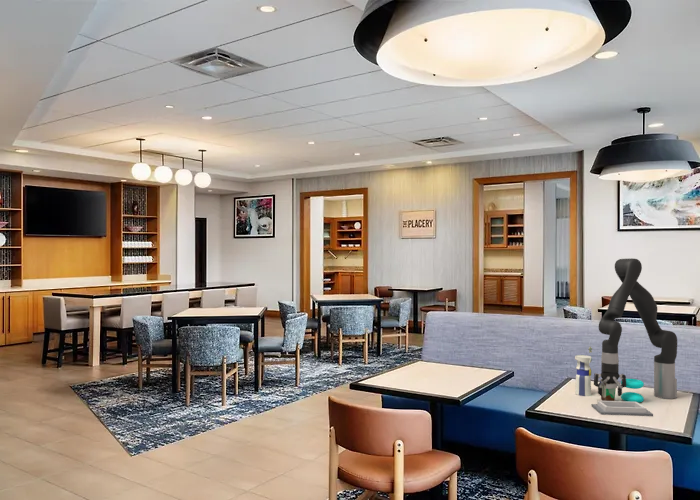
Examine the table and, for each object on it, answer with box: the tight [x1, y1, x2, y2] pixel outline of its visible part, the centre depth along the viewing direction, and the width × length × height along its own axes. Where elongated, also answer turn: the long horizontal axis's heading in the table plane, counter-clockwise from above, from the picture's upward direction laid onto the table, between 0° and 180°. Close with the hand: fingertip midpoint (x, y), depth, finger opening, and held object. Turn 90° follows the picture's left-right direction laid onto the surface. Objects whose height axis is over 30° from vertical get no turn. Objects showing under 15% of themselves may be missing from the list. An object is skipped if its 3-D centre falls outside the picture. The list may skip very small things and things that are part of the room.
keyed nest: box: [590, 400, 654, 417], centre depth 259 cm, size 22×14×3 cm, turn 83°
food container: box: [599, 378, 618, 401], centre depth 274 cm, size 12×6×10 cm, turn 168°
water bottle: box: [574, 346, 593, 397], centre depth 290 cm, size 8×9×25 cm
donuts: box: [620, 378, 645, 404], centre depth 278 cm, size 10×10×10 cm
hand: (609, 395), depth 274 cm, fingers open, 8 cm apart
